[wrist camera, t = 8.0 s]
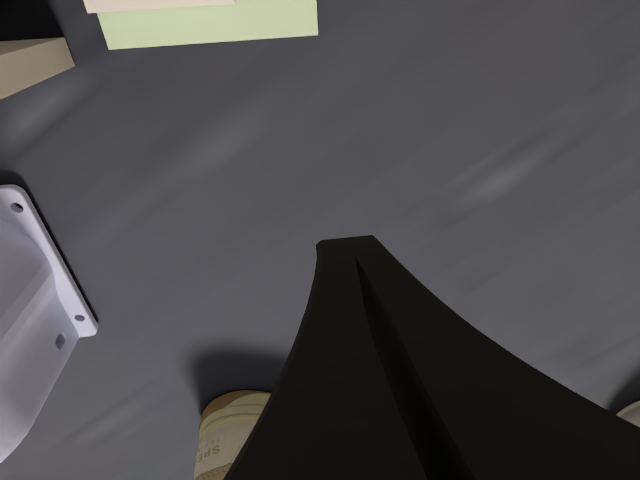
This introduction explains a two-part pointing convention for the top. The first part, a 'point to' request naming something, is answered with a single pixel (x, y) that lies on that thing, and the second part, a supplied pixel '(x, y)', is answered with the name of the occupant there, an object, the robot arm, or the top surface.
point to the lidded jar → (631, 413)
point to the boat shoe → (226, 431)
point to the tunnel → (31, 62)
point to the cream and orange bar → (146, 4)
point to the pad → (209, 23)
